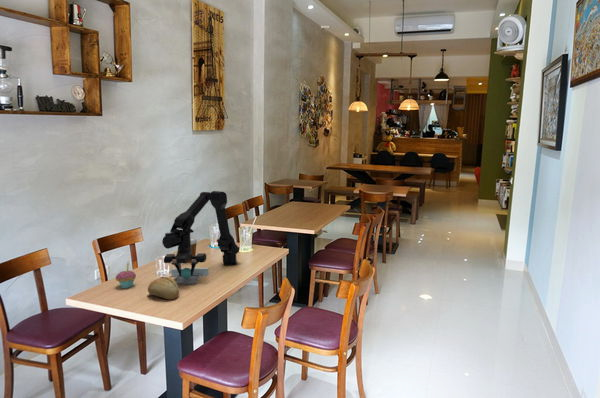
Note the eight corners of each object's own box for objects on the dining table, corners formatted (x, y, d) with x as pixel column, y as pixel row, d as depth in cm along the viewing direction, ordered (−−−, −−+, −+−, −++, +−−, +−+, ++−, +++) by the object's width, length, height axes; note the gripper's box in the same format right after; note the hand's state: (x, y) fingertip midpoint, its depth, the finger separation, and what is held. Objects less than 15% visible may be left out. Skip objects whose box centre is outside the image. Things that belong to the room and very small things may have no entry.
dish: (200, 276, 216) (200, 274, 215) (195, 284, 205) (195, 282, 204) (177, 277, 215) (177, 274, 215) (171, 285, 205) (171, 282, 204)
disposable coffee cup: (195, 263, 236) (194, 241, 234) (177, 263, 236) (176, 241, 234) (200, 258, 246) (198, 237, 244) (182, 258, 246) (181, 237, 244)
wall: (209, 274, 218) (208, 267, 218) (208, 275, 217) (208, 268, 216) (172, 275, 218) (171, 268, 217) (171, 276, 217) (170, 269, 216)
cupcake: (140, 284, 207) (138, 259, 205) (128, 290, 199) (125, 264, 197) (125, 282, 210) (123, 257, 208) (112, 288, 202) (110, 262, 200)
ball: (193, 276, 212) (192, 266, 212) (190, 280, 207) (190, 269, 207) (182, 276, 212) (181, 266, 211) (179, 280, 207) (179, 269, 207)
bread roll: (158, 290, 199) (157, 272, 198) (185, 295, 193) (184, 277, 192) (142, 297, 191) (141, 279, 189) (170, 303, 184) (168, 284, 183)
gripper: (159, 248, 199) (161, 282, 202) (201, 247, 199) (203, 281, 202) (166, 242, 210) (168, 274, 213) (205, 241, 210) (207, 273, 213)
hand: (186, 275), depth 210 cm, fingers closed on ball, 5 cm apart
